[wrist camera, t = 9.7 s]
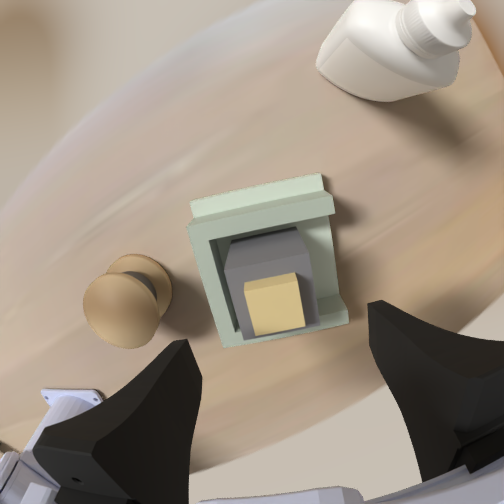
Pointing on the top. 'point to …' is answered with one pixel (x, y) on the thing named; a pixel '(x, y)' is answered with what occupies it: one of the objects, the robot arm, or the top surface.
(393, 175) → the top surface
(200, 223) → the notched board
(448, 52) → the eye dropper bottle
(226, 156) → the top surface
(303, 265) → the plug
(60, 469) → the robot arm
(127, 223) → the top surface
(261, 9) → the top surface
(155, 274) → the spool
